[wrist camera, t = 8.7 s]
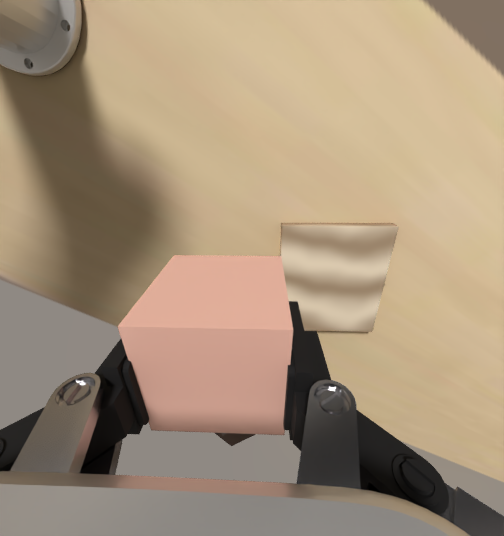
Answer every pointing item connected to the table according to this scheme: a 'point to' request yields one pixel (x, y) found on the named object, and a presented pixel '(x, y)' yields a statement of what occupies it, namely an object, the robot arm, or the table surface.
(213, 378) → the coral cube
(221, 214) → the table surface
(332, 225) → the birch board
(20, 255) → the table surface
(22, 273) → the table surface
